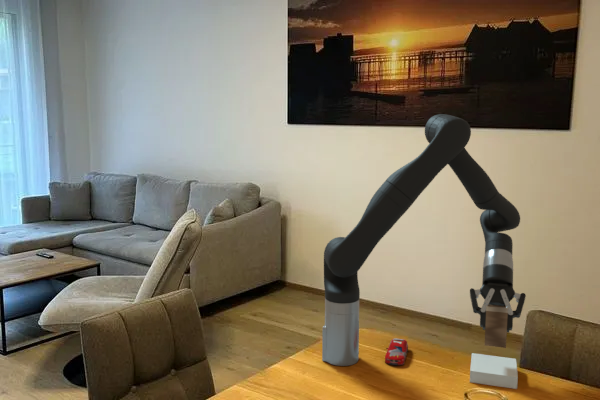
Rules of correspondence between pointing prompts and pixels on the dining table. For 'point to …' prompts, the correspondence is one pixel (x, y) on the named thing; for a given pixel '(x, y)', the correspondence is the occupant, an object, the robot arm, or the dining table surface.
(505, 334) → the walnut block
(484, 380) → the riser
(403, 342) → the race car
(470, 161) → the robot arm
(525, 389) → the dining table surface
